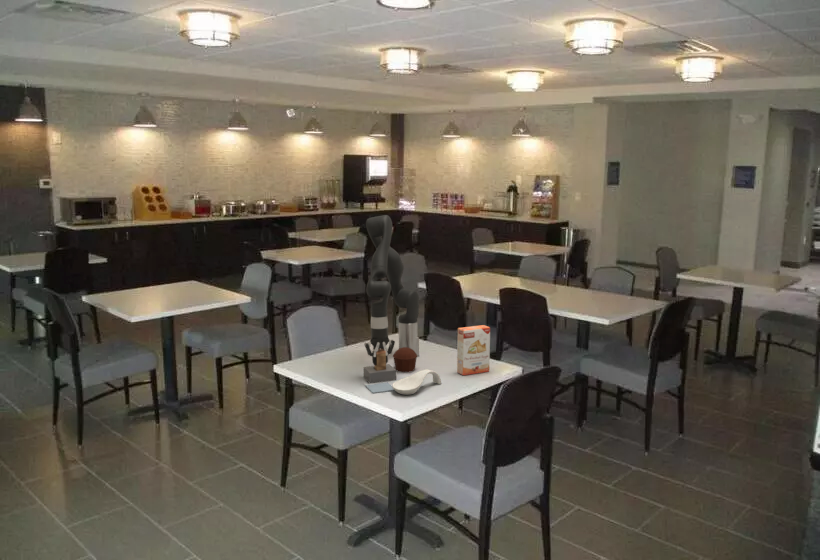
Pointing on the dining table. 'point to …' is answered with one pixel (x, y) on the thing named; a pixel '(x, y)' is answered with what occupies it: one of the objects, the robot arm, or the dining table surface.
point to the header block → (379, 374)
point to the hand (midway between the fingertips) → (380, 363)
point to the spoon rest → (414, 382)
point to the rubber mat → (380, 388)
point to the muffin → (405, 359)
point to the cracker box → (473, 350)
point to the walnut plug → (380, 360)
